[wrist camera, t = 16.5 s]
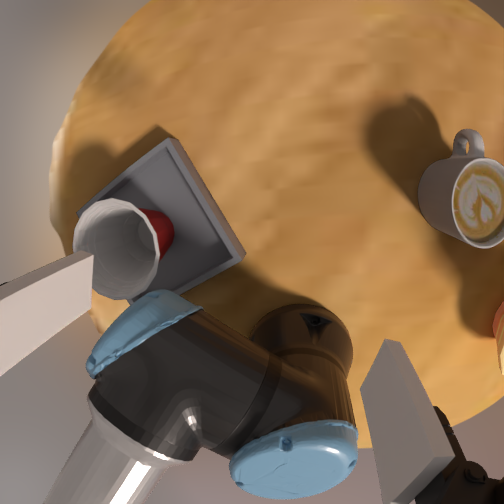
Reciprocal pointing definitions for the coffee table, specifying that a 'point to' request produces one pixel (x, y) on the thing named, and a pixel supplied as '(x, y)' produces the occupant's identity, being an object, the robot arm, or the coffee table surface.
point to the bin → (177, 217)
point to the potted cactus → (499, 335)
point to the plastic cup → (123, 246)
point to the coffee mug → (465, 193)
